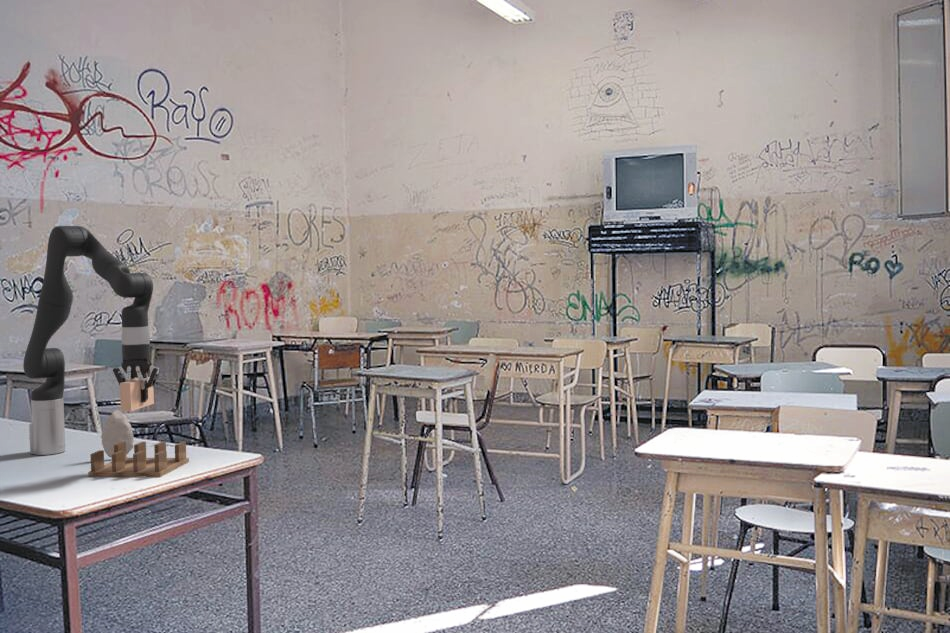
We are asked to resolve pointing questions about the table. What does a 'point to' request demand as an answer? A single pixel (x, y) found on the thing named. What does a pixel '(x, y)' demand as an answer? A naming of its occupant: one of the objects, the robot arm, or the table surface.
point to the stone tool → (117, 433)
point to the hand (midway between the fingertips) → (137, 401)
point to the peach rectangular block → (134, 395)
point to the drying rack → (138, 461)
